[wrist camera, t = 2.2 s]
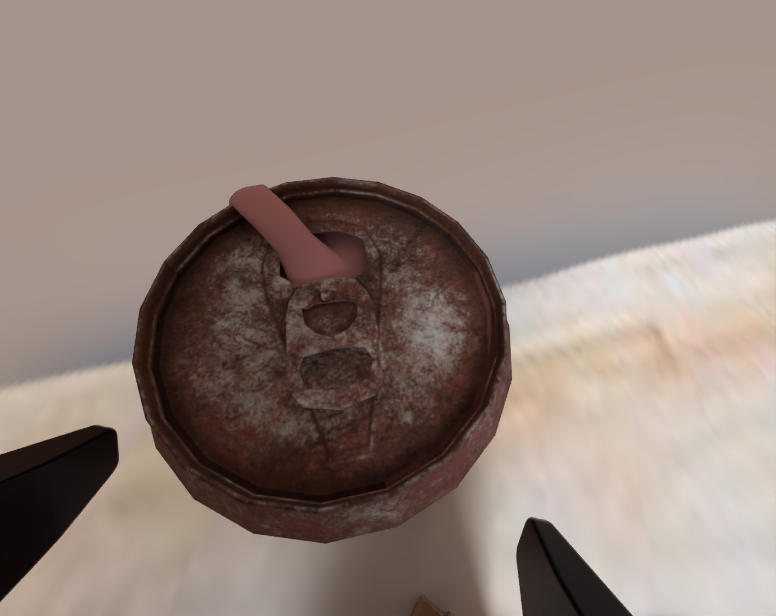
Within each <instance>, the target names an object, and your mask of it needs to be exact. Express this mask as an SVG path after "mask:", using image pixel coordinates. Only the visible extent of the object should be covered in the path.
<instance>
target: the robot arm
mask: <svg viewBox="0 0 776 616" xmlns="http://www.w3.org/2000/svg"><path fill="white" fill-rule="evenodd" d="M118 462H119V451H118V438H117V432H116V431H115V429H113V428H110V427H105V426H100V425H93V426H90V427H87V428H83V429H80V430H77V431H74V432H71V433H68V434H64V435H61V436H58V437H55V438H52V439H48V440H45V441H42V442H39V443H36V444H33V445H29V446H26V447H23V448H20V449H17V450H14V451H10V452H7V453H4V454H1V455H0V602H1V601H2V600H3V599H4V597H5V596H6V595H7V594H8V593H9V592H10V591H11V590H12V589H13V588H14V587H15V586H16V585H17V584H18V583H19V582H20V580H21V579H22V578H23V577H24V576H25V575H26V574H27V573H28V572H29V571H30V570H31V569H32V568H33V567H34V566H35V565H36V563H37V562H38V561H39V560H40V559H41V558H42V557H43V556H44V555H45V554H46V553H47V552H48V551H49V550H50V548H51V547H52V546H53V545H54V544H55V543H56V542H57V541H58V540H59V538H60V537H61V536H62V535H63V534H64V532H65V531H66V530H67V529H68V528H69V526H70V525H71V524H72V523H73V521H74V520H75V519H76V518H77V517H78V515H79V514H80V513H81V512H82V510H83V509H84V508H85V507H86V505H87V504H88V503H89V502H90V500H91V499H92V498H93V497H94V495H95V494H96V493H97V492H98V491H99V489H100V488H101V487H102V486H103V484H104V483H105V482H106V481H107V479H108V478H109V477H110V476H111V474H112V473H113V472H114V470H115V469H116V467H117V465H118ZM516 559H517V568H518V577H519V586H520V594H521V603H522V612H523V616H633V615H632V614H631V613H630V612H629V611H628V610H627V609H626V607H625V606H624V605H623V604H622V603H621V602H620V601H619V599H618V598H617V597H616V596H615V595H614V594H613V593H612V592H611V590H610V589H609V588H608V587H607V586H606V585H605V584H604V582H603V581H602V580H601V579H600V578H599V577H598V576H597V574H596V573H595V572H594V571H593V570H592V569H591V568H590V566H589V565H588V564H587V563H586V562H585V561H584V560H583V559H582V557H581V556H580V555H579V554H578V553H577V552H576V551H575V549H574V548H573V547H572V546H571V545H570V544H569V543H568V541H567V540H566V539H565V538H564V537H563V536H562V535H561V533H560V532H559V531H558V530H557V529H556V528H555V527H554V526H553V524H552V523H550V522H549V521H547V520H542V519H538V518H533V517H531V518H528V519H527V521H526V523H525V525H524V528H523V531H522V534H521V537H520V540H519V543H518V546H517V553H516Z"/></svg>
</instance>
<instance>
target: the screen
mask: <svg viewBox="0 0 776 616" xmlns="http://www.w3.org/2000/svg"><path fill="white" fill-rule="evenodd" d="M410 616H445V615H444V614H443V613H442V612H440V611H439V610H438V609H437V608H436V607H435V606H434V605H432V604H431V603H430V602H429V601H428V600H427V599H426V598H424V597H423V596H422V595H421V597H420V599H419V600H418V602H417V604H416V606H415V608H414V610H413V612H412V614H411V615H410ZM447 616H454V615H452V614H451V613H450V612H448V614H447Z"/></svg>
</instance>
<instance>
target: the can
mask: <svg viewBox="0 0 776 616" xmlns="http://www.w3.org/2000/svg"><path fill="white" fill-rule="evenodd" d="M132 365H133V369H134V373H135V377H136V382H137V386H138V390H139V394H140V398H141V402H142V406H143V410H144V415H145V419H146V421H147V422H148V423H149V425H150V426H151V430H152V435H153V439H154V443H155V447H156V449H157V450H158V451H159V453H160V454H161V456H162V457H163V458H164V460H165V461H166V462H167V464H168V465H169V466H170V468H171V469H172V470H173V472H174V473H175V474H176V476H177V477H178V478H179V480H180V481H181V482H182V484H183V485H184V486H185V488H186V489H187V490H188V492H189V493H190V494H191V496H192V497H193V498H194V499H195V500H196V501H198V502H200V503H202V504H203V505H205V506H207V507H209V508H210V509H212V510H214V511H215V512H217V513H219V514H221V515H222V516H224V517H226V518H228V519H229V520H231V521H233V522H234V523H236V524H238V525H240V526H241V527H243V528H245V529H246V530H248V531H250V532H252V533H253V534H260V535H268V536H275V537H282V538H290V539H297V540H304V541H312V542H319V543H330V542H334V541H338V540H342V539H347V538H351V537H355V536H359V535H363V534H368V533H372V532H376V531H380V530H385V529H389V528H393V527H397V526H399V525H400V524H402V523H403V522H405V521H406V520H408V519H409V518H411V517H412V516H414V515H416V514H417V513H419V512H420V511H422V510H423V509H425V508H426V507H428V506H429V505H431V504H432V503H434V502H435V501H437V500H438V499H440V498H441V497H443V496H444V495H446V494H447V493H449V492H450V491H452V490H453V489H455V488H456V487H457V486H458V485H459V483H460V482H461V481H462V479H463V478H464V476H465V475H466V474H467V472H468V471H469V470H470V468H471V467H472V466H473V464H474V463H475V462H476V460H477V459H478V458H479V456H480V455H481V454H482V452H483V451H484V449H485V448H486V447H487V445H488V444H489V443H490V441H491V440H492V439H493V437H494V436H495V434H496V431H497V427H498V424H499V421H500V417H501V414H502V411H503V407H504V404H505V401H506V397H507V394H508V391H509V387H510V384H511V380H512V370H511V350H510V330H509V324H508V322H507V317H506V301H505V298H504V296H503V293H502V291H501V289H500V286H499V284H498V281H497V279H496V276H495V274H494V272H493V269H492V267H491V264H490V262H489V259H488V257H487V256H486V255H485V253H484V252H483V251H482V250H481V249H480V247H479V246H478V245H477V244H476V243H475V242H474V240H473V239H472V238H471V237H470V236H469V234H468V233H467V232H466V231H465V230H464V229H463V227H462V226H461V225H460V224H459V223H458V222H457V221H456V220H454V219H453V218H451V217H450V216H448V215H447V214H445V213H444V212H442V211H441V210H439V209H438V208H436V207H435V206H433V205H432V204H430V203H429V202H428V201H426V200H425V199H423V198H422V197H419V196H416V195H414V194H411V193H408V192H405V191H402V190H400V189H396V188H394V187H391V186H388V185H385V184H383V183H380V182H373V181H364V180H355V179H346V178H337V177H330V178H321V179H313V180H304V181H294V182H286V183H283V184H280V185H278V186H275V187H272V188H269V189H268V188H267V187H266V186H265V185H257V186H250V187H245V188H242V189H240V190H238V191H237V192H235V193H234V194H233V195H232V196H231V198H230V200H229V206H228V207H226V208H225V209H223V210H222V211H220V212H218V213H217V214H215V215H214V216H212V217H210V218H209V219H207V220H205V221H204V222H202V223H201V224H199V225H198V226H197V227H196V228H195V229H194V230H193V232H192V233H191V234H190V235H189V236H188V237H187V238H186V239H185V240H184V241H183V242H182V243H181V244H180V245H179V246H178V247H177V248H176V249H175V251H174V252H173V253H172V254H171V255H170V256H169V257H168V258H167V259H166V260H165V261H164V263H163V265H162V266H161V269H160V270H159V272H158V274H157V276H156V278H155V280H154V282H153V284H152V286H151V288H150V290H149V292H148V294H147V296H146V298H145V300H144V302H143V303H142V305H141V307H140V311H139V318H138V325H137V332H136V340H135V346H134V353H133V360H132Z"/></svg>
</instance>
